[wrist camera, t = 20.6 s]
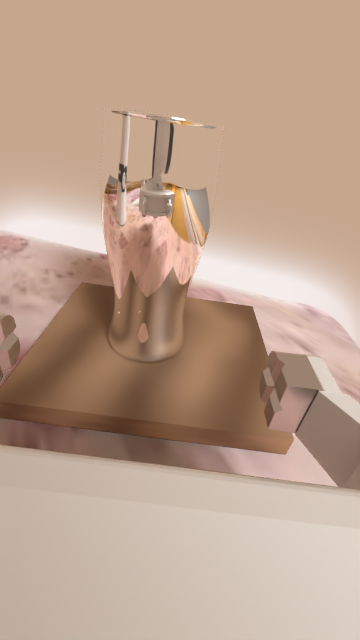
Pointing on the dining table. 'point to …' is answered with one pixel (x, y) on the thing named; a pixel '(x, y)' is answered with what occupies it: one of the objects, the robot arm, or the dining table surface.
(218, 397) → the walnut board
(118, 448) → the dining table surface
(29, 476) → the robot arm
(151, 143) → the beer glass
